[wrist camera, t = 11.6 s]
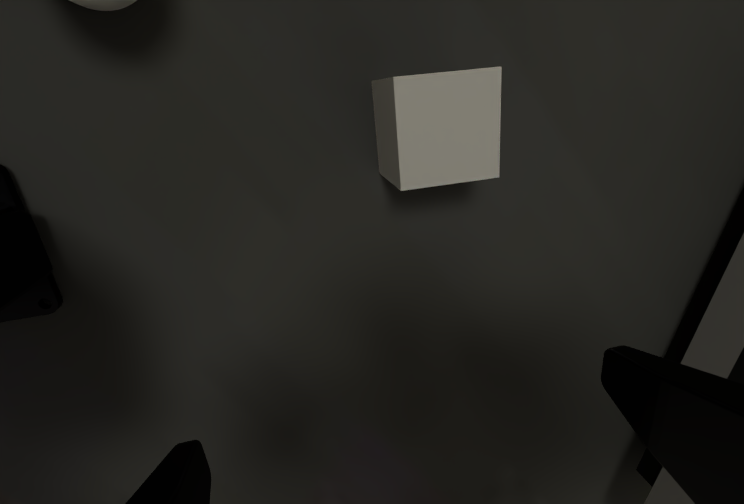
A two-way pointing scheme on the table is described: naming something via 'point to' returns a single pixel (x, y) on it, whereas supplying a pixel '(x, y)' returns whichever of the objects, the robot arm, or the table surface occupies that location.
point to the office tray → (708, 337)
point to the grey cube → (438, 127)
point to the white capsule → (104, 4)
